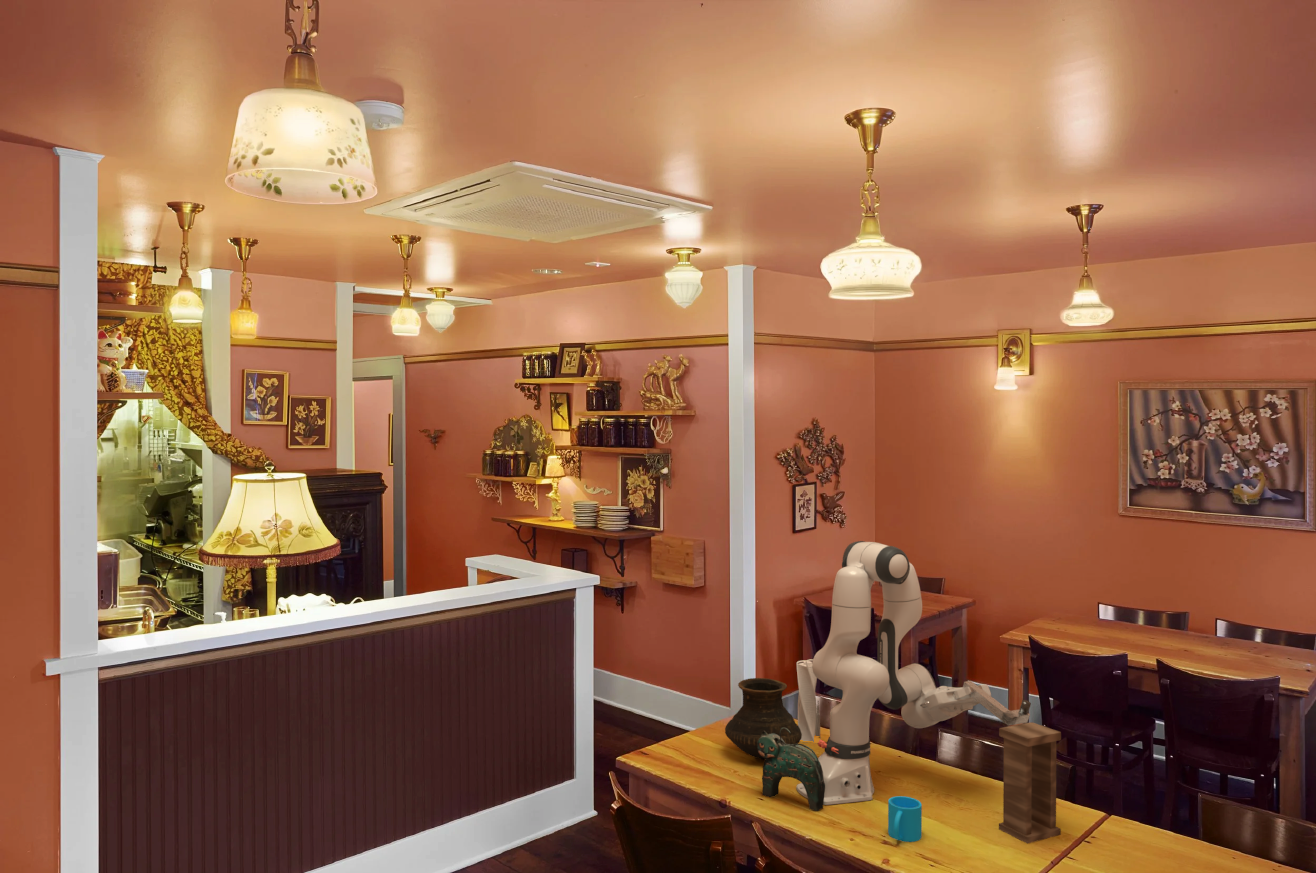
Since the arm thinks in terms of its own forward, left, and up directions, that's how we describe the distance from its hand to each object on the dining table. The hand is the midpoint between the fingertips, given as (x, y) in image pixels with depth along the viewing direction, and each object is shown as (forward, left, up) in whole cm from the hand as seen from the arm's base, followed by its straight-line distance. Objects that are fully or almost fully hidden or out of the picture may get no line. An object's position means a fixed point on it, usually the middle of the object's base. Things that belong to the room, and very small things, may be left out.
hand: (976, 688), depth 241 cm
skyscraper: (-10, +64, -32) cm, 72 cm away
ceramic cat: (-45, +24, -32) cm, 60 cm away
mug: (-33, -7, -32) cm, 46 cm away
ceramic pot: (-32, +58, -32) cm, 73 cm away
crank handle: (+2, -4, -4) cm, 6 cm away
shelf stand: (-1, -19, -32) cm, 37 cm away
